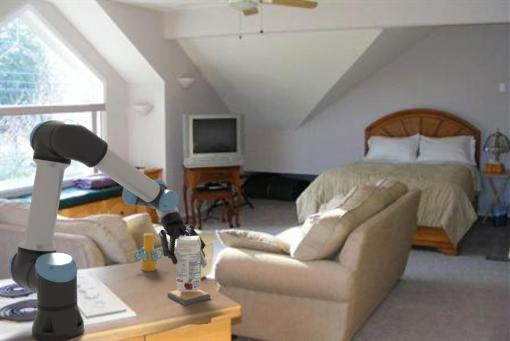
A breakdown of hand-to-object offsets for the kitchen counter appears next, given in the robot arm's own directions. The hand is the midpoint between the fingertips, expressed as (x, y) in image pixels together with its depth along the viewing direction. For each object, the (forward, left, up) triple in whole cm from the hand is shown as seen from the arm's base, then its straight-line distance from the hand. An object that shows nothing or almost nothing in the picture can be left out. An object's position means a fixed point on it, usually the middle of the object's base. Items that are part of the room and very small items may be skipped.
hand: (193, 268), depth 210 cm
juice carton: (0, +3, -9) cm, 9 cm away
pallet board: (0, +3, -12) cm, 12 cm away
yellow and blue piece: (+6, +42, -12) cm, 44 cm away
